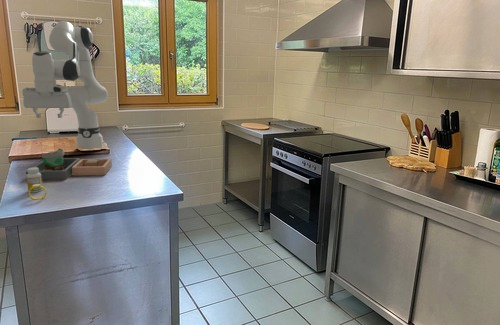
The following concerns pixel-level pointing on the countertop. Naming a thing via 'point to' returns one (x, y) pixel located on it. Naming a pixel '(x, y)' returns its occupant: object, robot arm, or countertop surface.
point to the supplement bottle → (34, 179)
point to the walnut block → (92, 163)
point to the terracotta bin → (94, 170)
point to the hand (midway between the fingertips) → (49, 117)
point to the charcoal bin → (60, 173)
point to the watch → (36, 187)
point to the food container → (53, 160)
